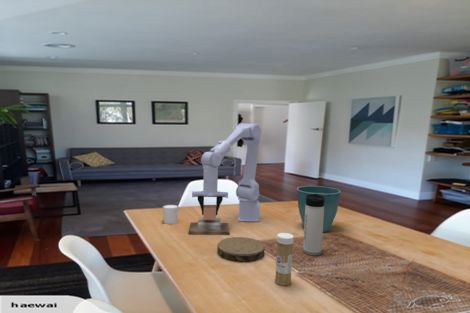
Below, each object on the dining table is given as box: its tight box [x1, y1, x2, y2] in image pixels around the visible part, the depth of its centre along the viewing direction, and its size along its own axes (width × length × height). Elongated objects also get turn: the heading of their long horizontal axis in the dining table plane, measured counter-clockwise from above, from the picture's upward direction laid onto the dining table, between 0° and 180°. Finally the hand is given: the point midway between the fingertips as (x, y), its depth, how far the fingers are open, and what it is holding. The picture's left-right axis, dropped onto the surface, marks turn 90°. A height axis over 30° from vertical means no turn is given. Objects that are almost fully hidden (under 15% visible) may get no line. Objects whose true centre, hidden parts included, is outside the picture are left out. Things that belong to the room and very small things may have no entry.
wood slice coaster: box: [216, 236, 265, 263], centre depth 110 cm, size 16×16×3 cm
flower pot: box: [296, 185, 341, 233], centre depth 140 cm, size 18×18×17 cm
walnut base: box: [188, 217, 230, 236], centre depth 133 cm, size 16×12×4 cm
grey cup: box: [162, 204, 179, 225], centre depth 142 cm, size 7×7×7 cm
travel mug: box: [302, 194, 325, 256], centre depth 112 cm, size 6×7×20 cm
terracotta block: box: [202, 204, 217, 220], centre depth 133 cm, size 5×5×5 cm
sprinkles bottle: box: [274, 232, 295, 286], centre depth 90 cm, size 5×5×13 cm
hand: (209, 214), depth 133 cm, fingers closed on terracotta block, 5 cm apart
